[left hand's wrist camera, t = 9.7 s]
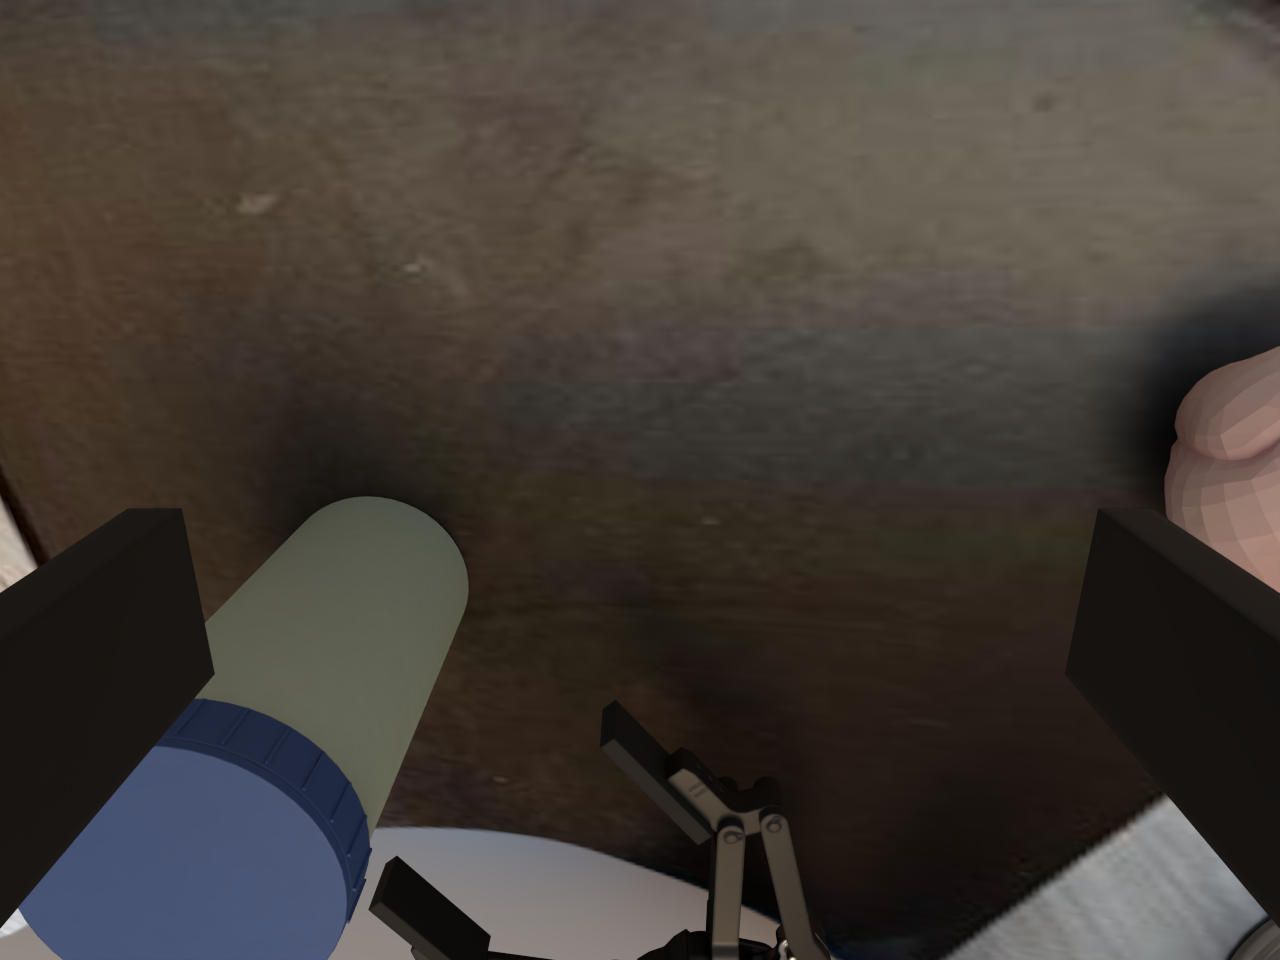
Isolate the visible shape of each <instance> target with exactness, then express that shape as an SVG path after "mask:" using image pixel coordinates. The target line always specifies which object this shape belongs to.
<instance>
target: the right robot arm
mask: <svg viewBox="0 0 1280 960" xmlns="http://www.w3.org/2000/svg"><path fill="white" fill-rule="evenodd" d="M600 749H601V750H602V751H603V752H604V753H605V754H606V755H607V756H608V757H609V758H610V759H611V760H612V761H613V762H614V763H615V764H616V765H617V766H618V767H619V768H620V769H621V770H622V771H623V772H624V773H625V774H626V775H627V776H628V777H629V778H630V779H632V780H633V781H634V782H635V783H636V784H637V785H638V786H639V787H640V788H641V789H642V790H643V791H644V792H645V793H646V794H647V795H648V796H649V797H650V798H651V799H652V800H653V801H654V802H655V803H656V804H657V805H658V806H659V807H660V808H661V809H662V810H663V811H664V812H665V813H666V814H667V815H668V816H669V817H670V818H671V819H672V820H673V821H674V822H675V823H676V824H677V825H678V826H679V827H680V828H681V829H682V830H683V831H684V832H685V833H686V834H687V835H688V836H689V837H690V838H691V839H692V840H693V841H694V842H695V843H696V844H697V845H699V844H701V843H703V842H704V841H706V840H707V839H709V838H710V837H711V856H710V877H709V898H708V900H707V916H706V931H695V932H689V931H688V930H687V929H685V930H683V931H682V932H680V933H678V934H677V935H675V936H674V937H673V938H672V939H671V940H670V941H669V942H668V943H667V944H666V945H665V946H664V947H661V948H658V949H655V950H652V951H650V952H648V953H646V954H644V955H643V956H641V957H640V958H638V959H637V960H831V957H830V954H829V949H828V945H827V941H826V936H825V932H824V928H823V924H822V922H821V920H820V919H819V917H818V916H817V915H816V914H815V912H814V911H813V910H812V908H811V907H810V906H809V904H808V903H807V902H806V900H805V899H804V895H803V890H802V886H801V881H800V876H799V872H798V867H797V863H796V858H795V853H794V849H793V844H792V840H791V835H790V830H789V826H788V821H787V817H786V812H785V808H784V803H783V799H782V794H781V790H780V785H779V783H778V781H777V780H776V779H774V778H772V777H762V778H759V779H758V780H757V781H756V782H755V784H754V785H753V788H750V789H747V790H743V791H738V786H737V783H736V781H735V780H734V779H732V778H730V777H720V778H719V779H718V778H717V777H716V776H715V775H714V774H713V773H712V772H711V771H710V770H709V769H708V768H706V766H705V765H704V764H703V763H702V762H700V760H699V759H698V758H697V757H696V756H695V755H694V754H693V753H692V752H690V751H688V750H686V749H684V748H680V749H679V750H677V751H676V752H674V753H673V754H671V755H669V754H668V752H667V751H666V750H665V749H664V748H663V747H662V746H661V745H660V744H659V743H658V742H657V741H656V740H655V739H654V738H653V737H652V736H651V735H650V734H649V733H648V732H647V731H646V730H645V729H644V728H643V727H642V726H641V725H640V724H639V723H638V722H637V721H636V720H635V719H634V718H633V717H632V716H631V715H630V714H629V713H628V712H627V711H626V710H625V709H624V708H623V707H622V706H621V705H620V704H619V703H618V702H617V701H616V700H615V701H614V702H612V703H611V704H609V705H608V706H607V707H605V708H604V709H603V714H602V727H601V739H600ZM711 828H712V833H711ZM759 832H761V834H762V838H763V842H764V847H765V851H766V855H767V859H768V864H769V868H770V872H771V877H772V881H773V885H774V890H775V894H776V898H777V903H778V907H779V911H780V915H781V919H780V924H781V926H779V927H778V928H777V930H776V938H777V945H776V946H775V947H774V948H772V947H770V946H769V945H767V944H765V943H762V942H757V941H752V940H747V939H742V938H739V928H740V913H741V898H742V882H743V867H744V852H745V836H748V835H752V834H755V833H759ZM369 911H370V912H372V913H373V914H374V915H375V916H376V917H378V918H379V919H380V920H381V921H382V922H384V923H385V924H386V925H387V926H389V927H390V928H391V929H392V930H393V931H395V932H396V933H397V934H398V935H399V936H401V937H402V938H403V939H404V940H406V941H407V942H408V943H409V944H410V945H412V948H411V953H412V954H413V956H414V958H415V960H551V959H544V958H536V957H529V956H522V955H515V954H507V953H500V952H492V951H488V947H489V942H490V937H491V936H490V935H489V934H488V933H487V932H486V931H484V930H483V929H482V928H481V927H480V926H479V925H477V924H476V923H475V922H474V921H473V920H472V919H470V918H469V917H468V916H467V915H466V914H465V913H463V912H462V911H461V910H460V909H459V908H458V907H456V906H455V905H454V904H453V903H452V902H451V901H449V900H448V899H447V898H446V897H445V896H444V895H442V894H441V893H440V892H439V891H438V890H436V889H435V888H434V887H433V886H432V885H431V884H430V883H428V882H427V881H426V880H425V879H424V878H422V877H421V876H420V875H419V874H418V873H417V872H415V871H414V870H413V869H412V868H411V867H410V866H408V865H407V864H406V863H405V862H404V861H403V860H401V859H400V858H399V857H398V856H396V857H394V858H393V859H391V860H390V861H389V862H387V863H386V864H385V867H384V870H383V872H382V875H381V878H380V880H379V883H378V886H377V888H376V891H375V894H374V896H373V899H372V902H371V904H370V907H369ZM1231 960H1280V928H1279V927H1278V926H1277V925H1276V924H1275V922H1274V921H1273V920H1272V919H1270V920H1269V921H1268V922H1266V923H1265V924H1264V925H1262V926H1261V927H1260V928H1259V929H1258V930H1256V931H1255V932H1254V933H1253V934H1252V935H1251V936H1250V937H1249V938H1248V939H1247V940H1246V941H1245V942H1244V943H1243V944H1242V945H1241V947H1240V948H1239V949H1238V950H1237V952H1236V953H1235V954H1234V956H1233V957H1232V958H1231Z"/></svg>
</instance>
